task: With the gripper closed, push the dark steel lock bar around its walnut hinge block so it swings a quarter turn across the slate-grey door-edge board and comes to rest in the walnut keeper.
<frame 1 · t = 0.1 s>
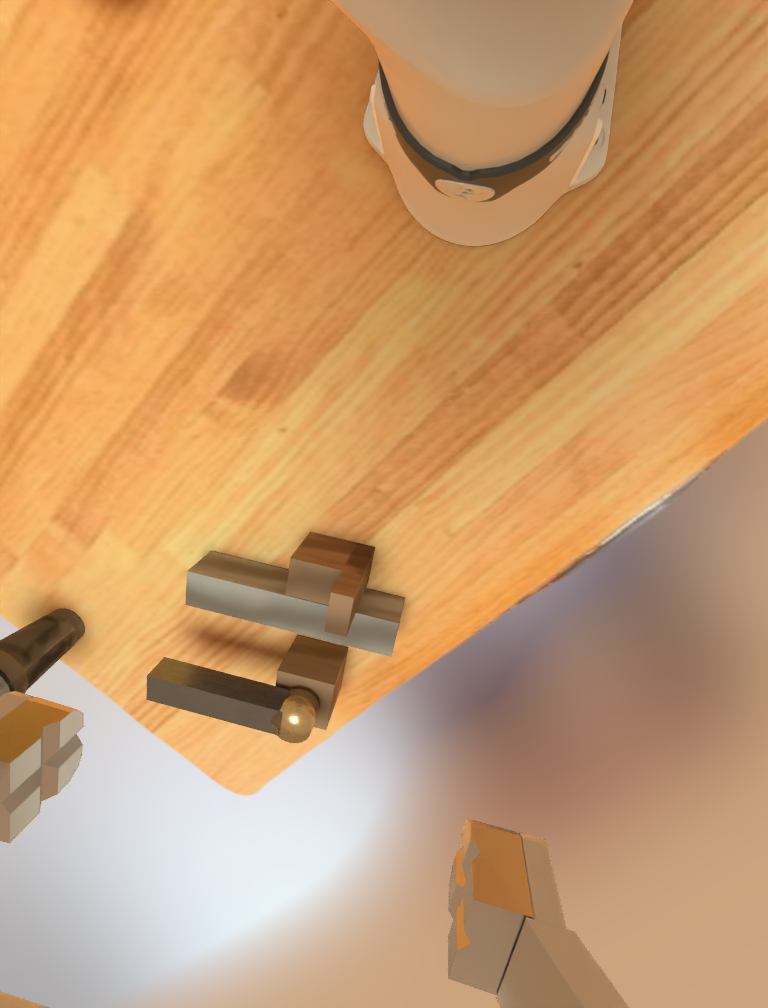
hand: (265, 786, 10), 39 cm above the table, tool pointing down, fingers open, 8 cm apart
door jamb: (310, 607, 54), on the table
beverage cup: (69, 623, 61), on the table
lock bar: (234, 698, 49), point 9 cm above the table, hinge at 0.0°
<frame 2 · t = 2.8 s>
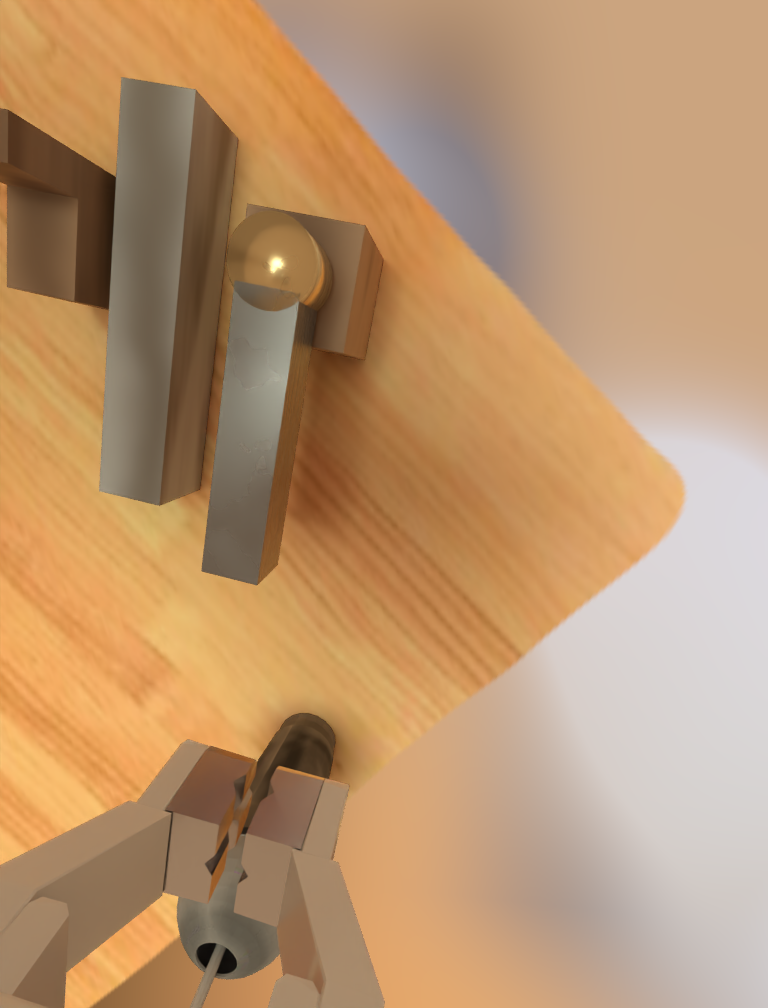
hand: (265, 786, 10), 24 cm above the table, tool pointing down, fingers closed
door jamb: (219, 313, 32), on the table
beverage cup: (308, 736, 39), on the table
lock bar: (263, 410, 24), point 9 cm above the table, hinge at 0.0°
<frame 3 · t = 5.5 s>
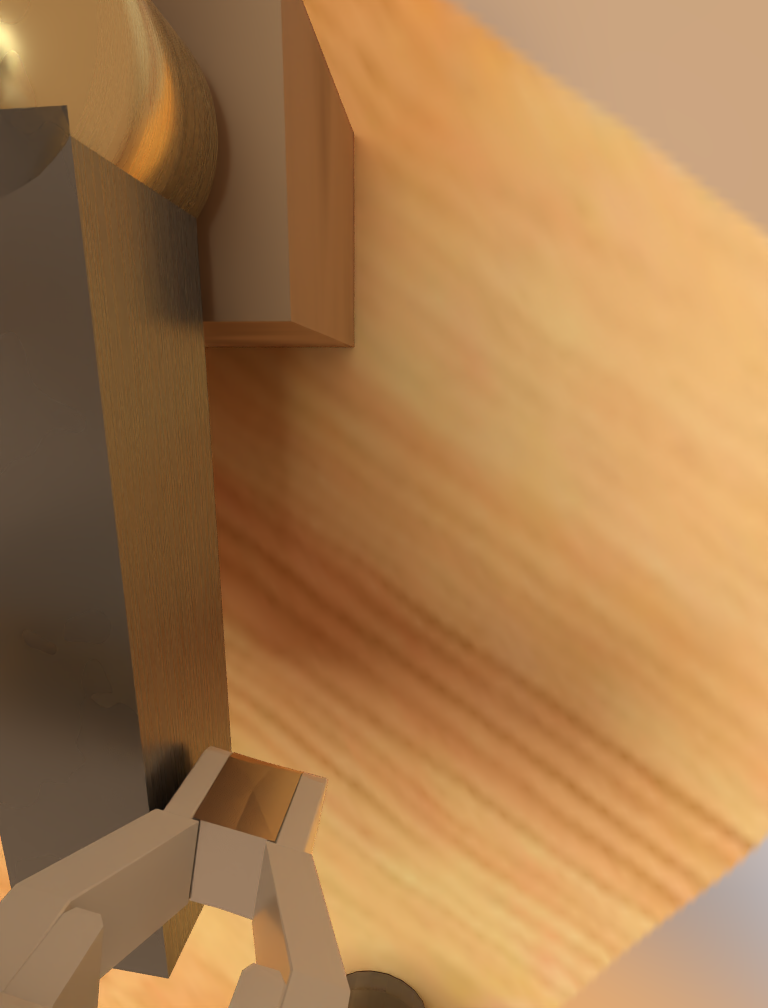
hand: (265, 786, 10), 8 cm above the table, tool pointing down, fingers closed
door jamb: (68, 316, 17), on the table
beverage cup: (378, 1003, 23), on the table
lock bar: (96, 513, 9), point 9 cm above the table, hinge at 0.3°, touching gripper
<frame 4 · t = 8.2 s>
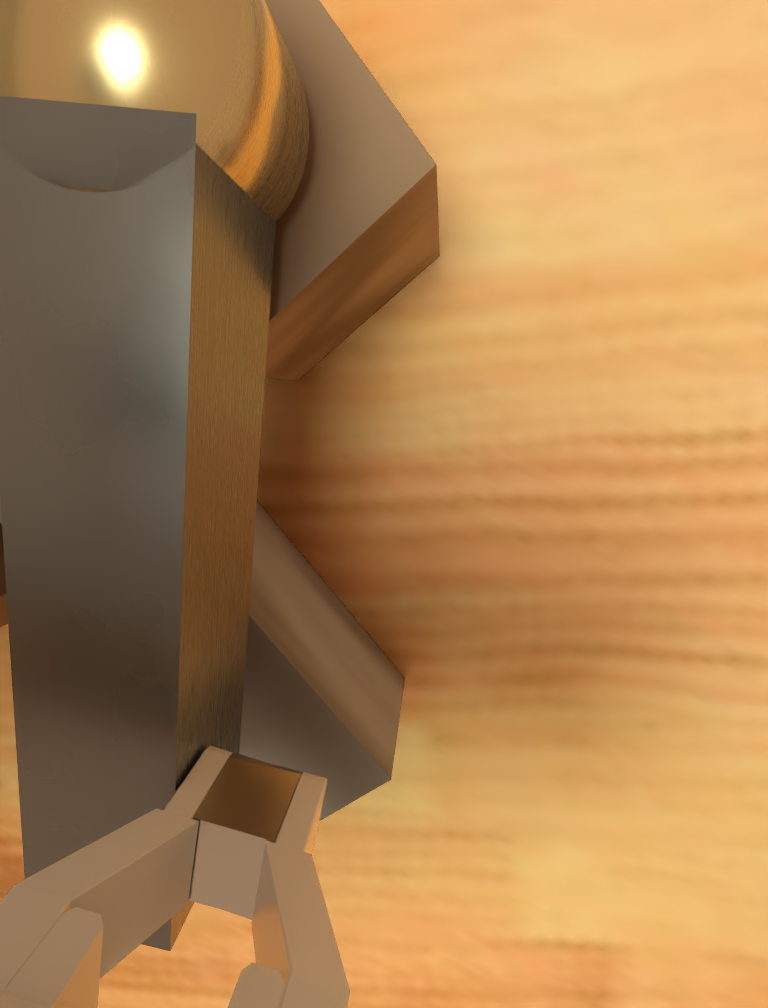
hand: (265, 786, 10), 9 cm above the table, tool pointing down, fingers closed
door jamb: (197, 430, 17), on the table
lock bar: (147, 498, 9), point 9 cm above the table, hinge at 46.2°, touching gripper
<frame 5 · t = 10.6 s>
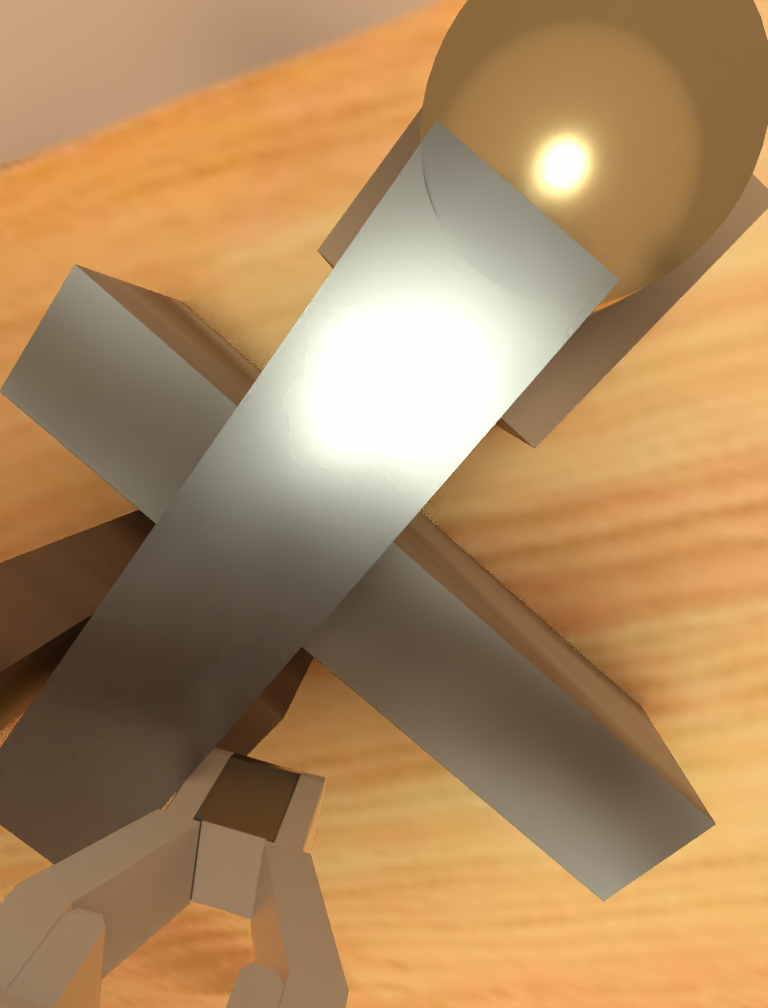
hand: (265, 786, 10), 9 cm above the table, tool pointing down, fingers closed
door jamb: (399, 494, 17), on the table
lock bar: (304, 503, 9), point 9 cm above the table, hinge at 87.9°, touching gripper
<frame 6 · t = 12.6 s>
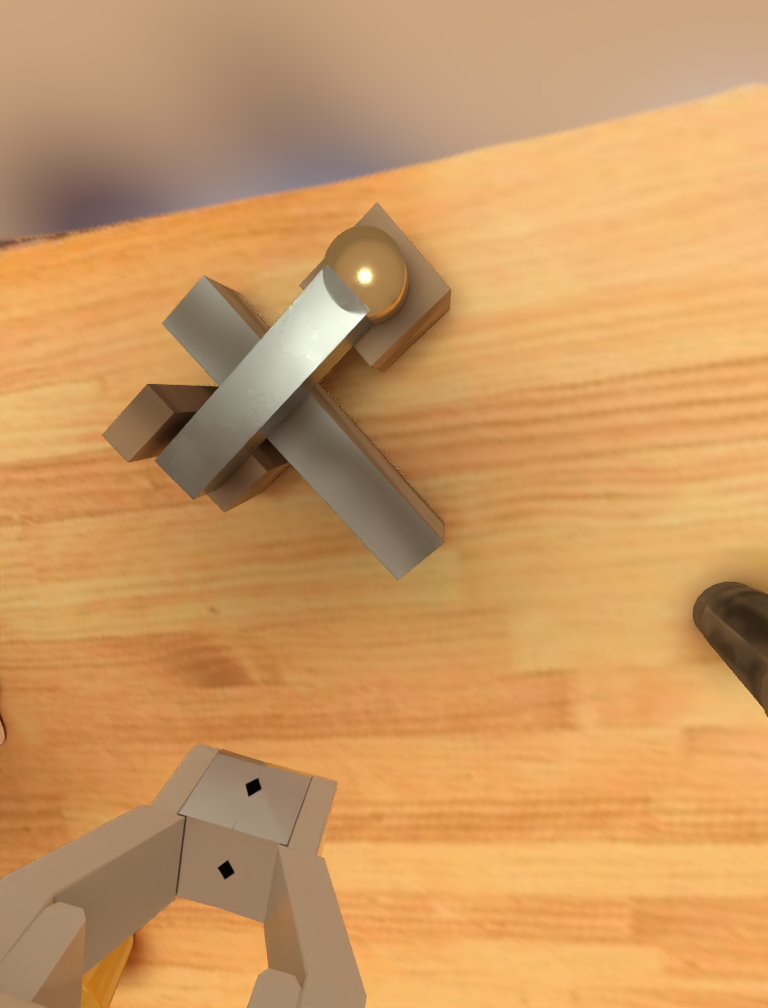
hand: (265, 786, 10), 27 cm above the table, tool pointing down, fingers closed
plant pot: (104, 927, 50), on the table
door jamb: (334, 400, 35), on the table
beverage cup: (725, 610, 35), on the table
lock bar: (283, 370, 27), point 9 cm above the table, hinge at 88.1°
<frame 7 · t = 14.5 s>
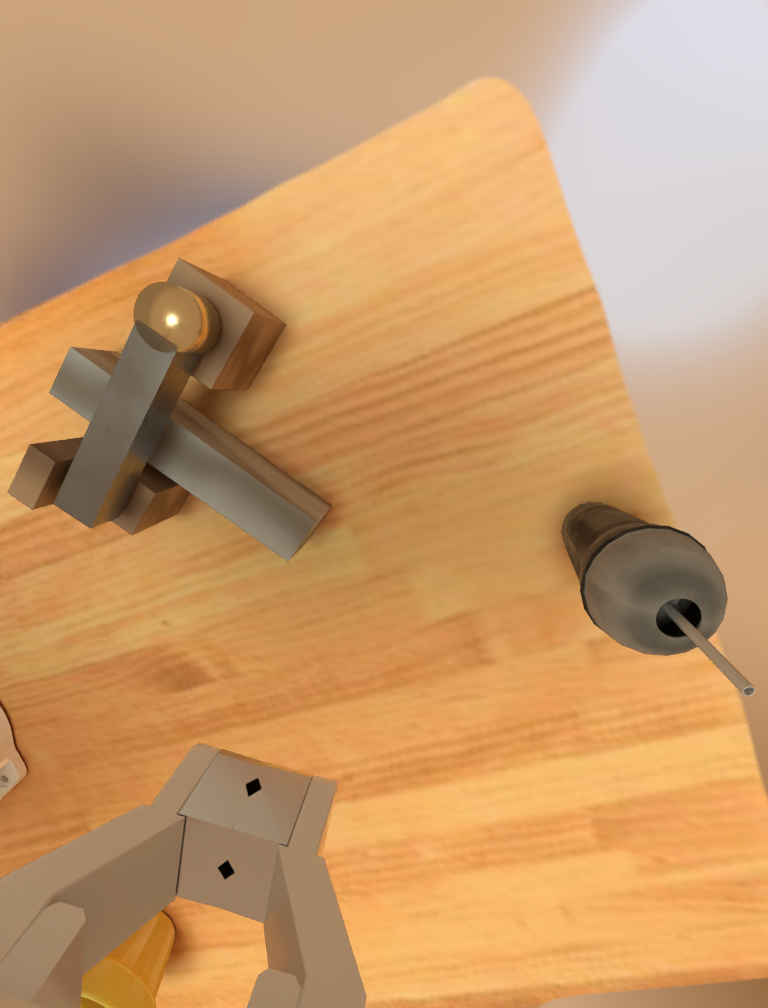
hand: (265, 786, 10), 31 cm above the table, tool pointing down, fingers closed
plant pot: (149, 923, 56), on the table
door jamb: (214, 422, 41), on the table
beverage cup: (590, 529, 39), on the table
lock bar: (136, 409, 32), point 9 cm above the table, hinge at 88.1°
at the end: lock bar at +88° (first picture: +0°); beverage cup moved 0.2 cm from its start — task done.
